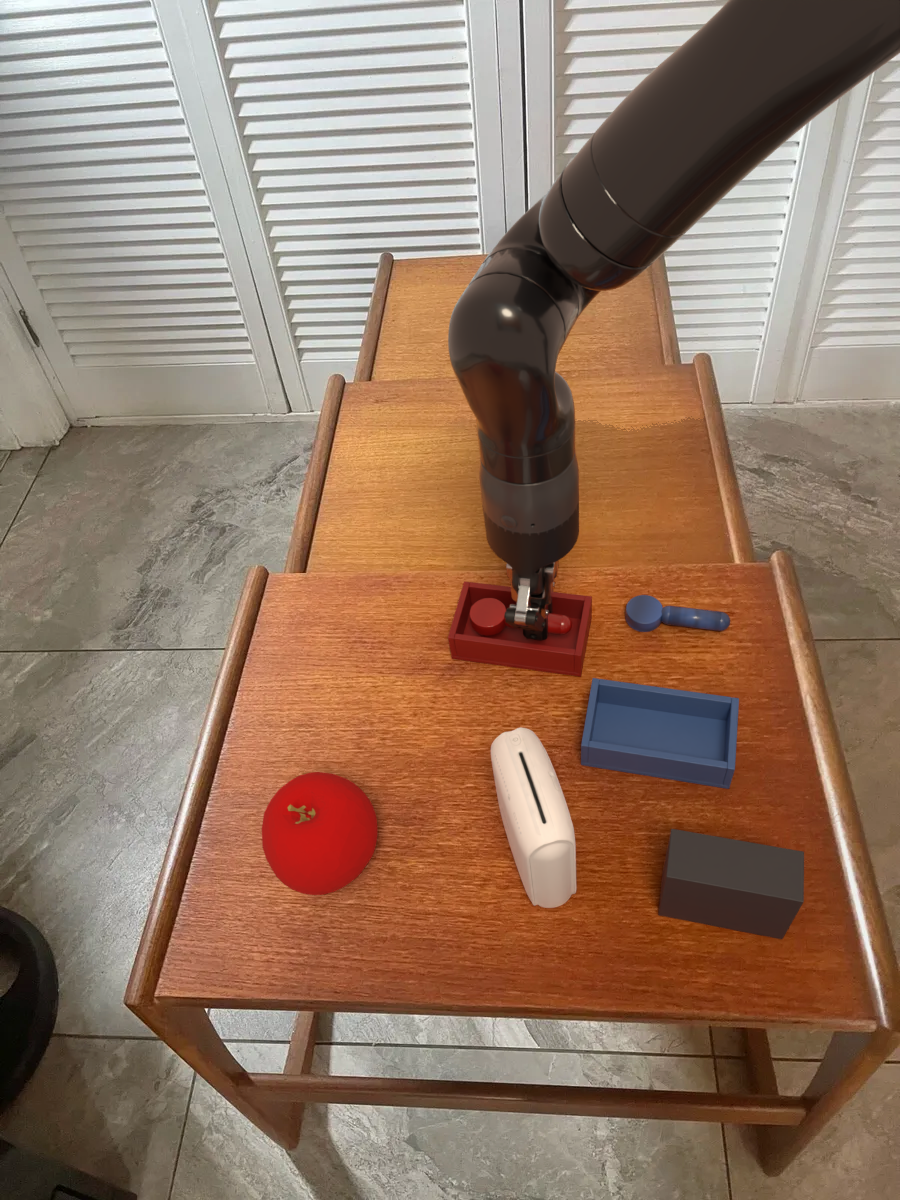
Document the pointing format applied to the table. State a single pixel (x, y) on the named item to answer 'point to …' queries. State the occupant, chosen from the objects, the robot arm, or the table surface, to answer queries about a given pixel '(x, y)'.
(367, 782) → the table surface
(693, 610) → the blue spoon
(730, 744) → the blue bin
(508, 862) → the table surface
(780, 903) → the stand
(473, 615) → the red spoon
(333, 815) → the fruit
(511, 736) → the photo printer
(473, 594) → the red bin
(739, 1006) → the table surface
